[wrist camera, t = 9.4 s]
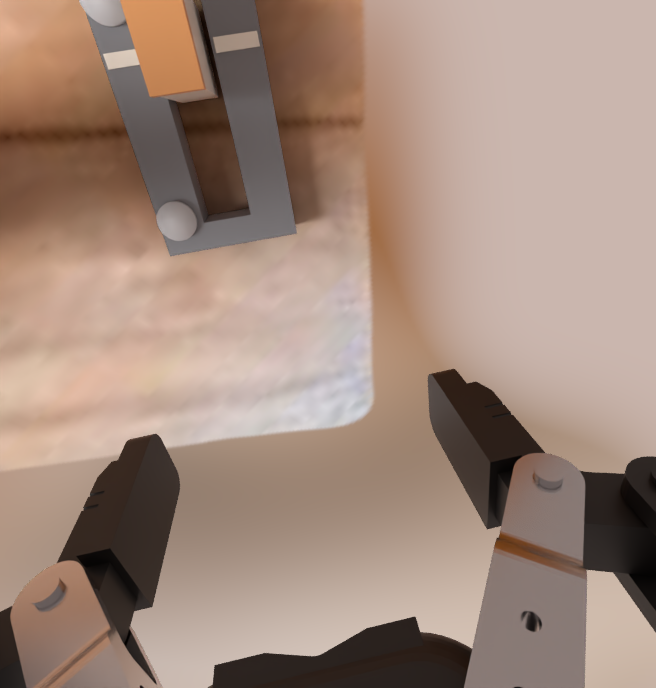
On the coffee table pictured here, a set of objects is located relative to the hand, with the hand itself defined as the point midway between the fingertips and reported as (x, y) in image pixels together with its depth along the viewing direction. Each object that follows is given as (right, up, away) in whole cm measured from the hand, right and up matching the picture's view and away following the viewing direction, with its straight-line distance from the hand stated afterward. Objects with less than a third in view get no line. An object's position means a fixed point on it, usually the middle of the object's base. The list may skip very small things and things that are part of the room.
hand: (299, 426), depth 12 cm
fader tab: (-9, +22, +16) cm, 29 cm away
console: (-8, +19, +18) cm, 27 cm away
